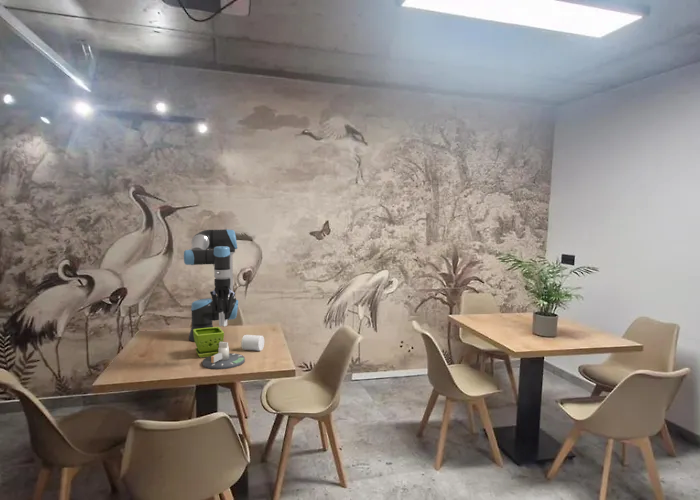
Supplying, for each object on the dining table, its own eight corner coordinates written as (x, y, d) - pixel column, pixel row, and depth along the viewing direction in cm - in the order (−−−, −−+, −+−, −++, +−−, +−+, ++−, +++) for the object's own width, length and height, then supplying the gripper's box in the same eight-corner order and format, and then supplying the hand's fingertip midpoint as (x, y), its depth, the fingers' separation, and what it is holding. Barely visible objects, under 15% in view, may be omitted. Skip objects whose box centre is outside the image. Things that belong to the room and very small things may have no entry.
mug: (258, 352, 234) (258, 337, 233) (241, 351, 236) (241, 336, 235) (267, 346, 246) (267, 332, 245) (250, 345, 248) (250, 331, 247)
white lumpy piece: (222, 357, 220) (222, 340, 220) (231, 358, 219) (230, 341, 218) (207, 364, 209) (207, 347, 209) (216, 365, 208) (216, 348, 207)
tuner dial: (196, 361, 218) (195, 358, 218) (233, 353, 231) (233, 350, 231) (213, 372, 203) (213, 368, 203) (252, 363, 216) (252, 359, 216)
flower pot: (196, 359, 222) (196, 335, 221) (192, 352, 234) (192, 329, 233) (225, 356, 228) (224, 331, 227) (219, 349, 240) (219, 326, 239)
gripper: (205, 278, 213) (206, 326, 215) (230, 279, 209) (231, 328, 210) (214, 276, 221) (215, 322, 222) (239, 277, 216) (240, 325, 217)
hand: (223, 325), depth 216 cm, fingers closed
